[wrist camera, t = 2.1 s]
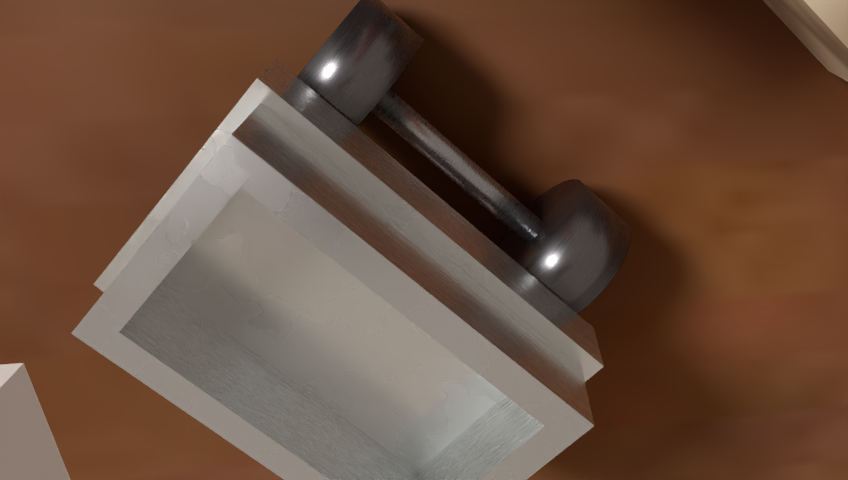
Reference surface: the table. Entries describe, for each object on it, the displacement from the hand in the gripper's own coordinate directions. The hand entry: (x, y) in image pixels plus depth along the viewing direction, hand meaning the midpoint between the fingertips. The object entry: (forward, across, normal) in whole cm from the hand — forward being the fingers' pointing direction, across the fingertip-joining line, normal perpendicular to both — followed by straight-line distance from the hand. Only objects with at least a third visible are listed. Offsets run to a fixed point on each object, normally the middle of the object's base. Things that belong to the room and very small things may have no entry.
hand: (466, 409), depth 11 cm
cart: (+20, -5, -6) cm, 21 cm away
